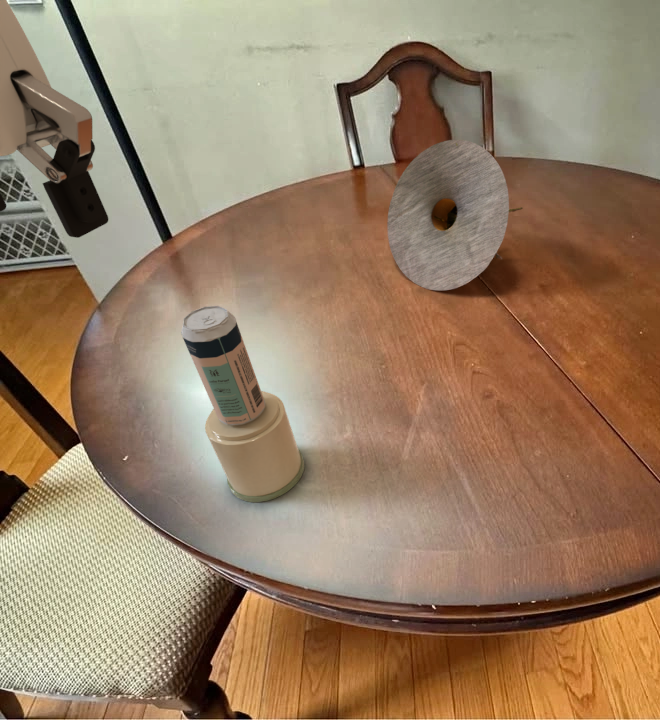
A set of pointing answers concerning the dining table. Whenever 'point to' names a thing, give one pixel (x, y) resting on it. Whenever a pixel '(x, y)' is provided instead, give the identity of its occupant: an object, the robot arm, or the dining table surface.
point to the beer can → (223, 364)
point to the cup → (258, 453)
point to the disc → (448, 215)
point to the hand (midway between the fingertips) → (37, 222)
